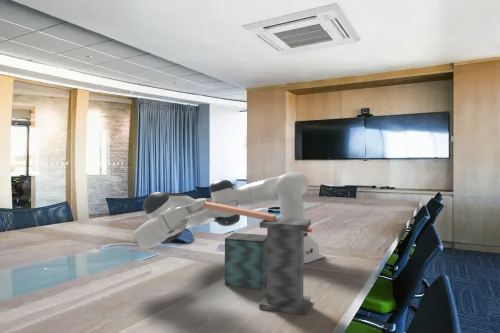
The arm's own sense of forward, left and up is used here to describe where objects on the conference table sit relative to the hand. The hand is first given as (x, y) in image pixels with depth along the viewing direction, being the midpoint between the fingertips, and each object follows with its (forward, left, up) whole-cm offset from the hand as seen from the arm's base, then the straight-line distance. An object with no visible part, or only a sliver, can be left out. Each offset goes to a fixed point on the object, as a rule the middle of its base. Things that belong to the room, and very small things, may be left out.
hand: (207, 201), depth 114 cm
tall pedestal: (-16, +20, -31) cm, 41 cm away
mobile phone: (-37, -52, -32) cm, 71 cm away
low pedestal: (-18, -3, -31) cm, 36 cm away
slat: (-6, +7, -3) cm, 10 cm away
